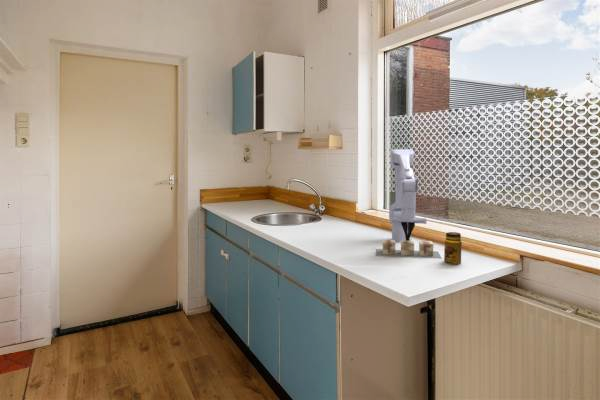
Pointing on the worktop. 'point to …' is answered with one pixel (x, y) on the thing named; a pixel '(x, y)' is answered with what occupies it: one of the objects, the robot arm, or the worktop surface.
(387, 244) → the block one
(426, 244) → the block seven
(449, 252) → the condiment
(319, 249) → the worktop surface
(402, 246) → the plain block
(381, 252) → the slate mat
